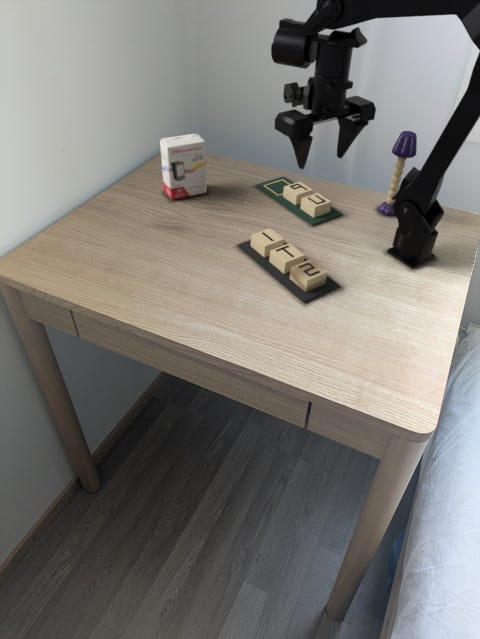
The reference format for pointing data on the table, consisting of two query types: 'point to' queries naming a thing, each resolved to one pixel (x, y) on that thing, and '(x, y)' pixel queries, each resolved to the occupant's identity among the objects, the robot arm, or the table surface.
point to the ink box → (183, 165)
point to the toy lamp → (399, 166)
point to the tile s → (308, 275)
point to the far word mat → (292, 207)
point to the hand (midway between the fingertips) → (320, 162)
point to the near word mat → (287, 277)
